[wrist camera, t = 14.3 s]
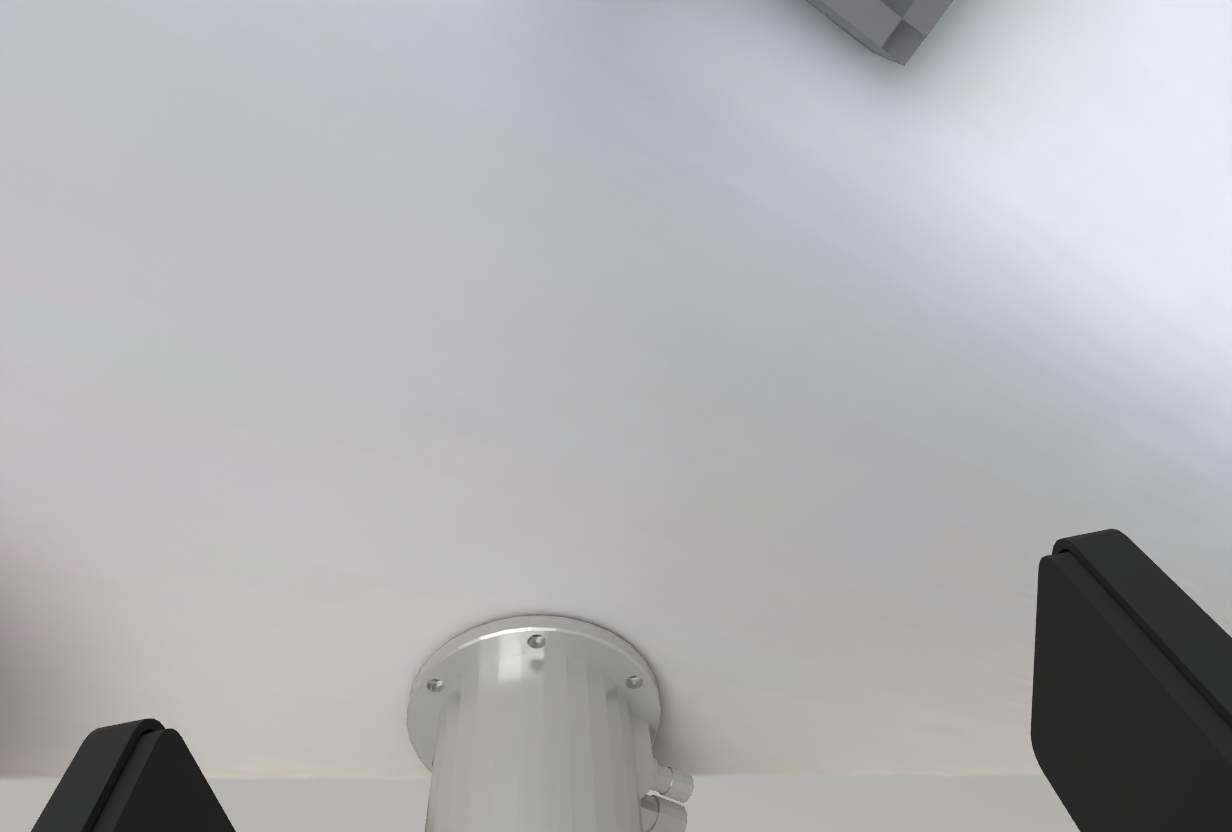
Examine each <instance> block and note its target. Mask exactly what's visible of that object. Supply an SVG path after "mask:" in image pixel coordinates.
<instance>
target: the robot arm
mask: <svg viewBox="0 0 1232 832" xmlns="http://www.w3.org/2000/svg"><path fill="white" fill-rule="evenodd" d="M660 716H661V707H660V700H659V692H658V688H657V684H656V681H655V678H654V674H653V673H652V671H651V669H650V668H649V666H648V665H647V663H646V661H645V660H644V658H643V657H642V656H641V655H640V654H639V653H638V652H637V651H636V650H635V649H634V648H633V647H632V646H631V645H630V644H628V643H627V642H625V641H624V640H622V639H621V638H619V637H618V636H616V635H615V634H614V633H612V632H609V631H607V630H605V629H602V628H600V627H598V626H596V625H593V624H590V623H587V622H583V621H579V620H575V619H571V618H565V617H555V616H545V615H540V616H518V617H513V618H507V619H502V620H497V621H492V622H490V623H487V624H484V625H481V626H478V627H475V628H473V629H470V630H468V631H466V632H464V633H463V634H461V635H459V636H457V637H455V638H453V639H452V640H450V641H448V642H447V643H446V644H445V645H444V646H442V647H441V648H440V649H439V650H437V651H436V652H435V653H434V654H433V655H432V656H431V657H430V658H429V660H428V661H427V662H426V663H425V664H424V666H423V667H422V668H421V669H420V671H419V673H418V675H417V677H416V679H415V681H414V683H413V686H412V689H411V694H410V699H409V704H408V710H407V729H408V733H409V738H410V742H411V744H412V746H413V748H414V750H415V752H416V754H417V755H418V757H419V759H420V760H421V761H422V762H423V764H424V765H425V766H426V767H427V768H428V769H429V770H430V771H431V772H432V777H431V785H430V794H429V801H428V809H427V818H426V826H425V832H685V828H686V824H687V813H686V810H685V807H683V806H681V805H679V804H676V803H674V802H671V801H669V800H666V799H663V798H661V797H658V796H655V795H652V796H649V795H646V793H647V792H648V791H649V790H650V789H652V790H655V791H657V792H659V793H660V794H661V795H664V796H667V797H669V798H672V799H675V800H677V801H680V802H683V803H684V802H685V801H687V800H688V799H689V797H690V796H691V793H692V790H693V779H692V776H690V775H688V774H685V773H683V772H680V771H677V770H675V769H672V768H670V767H667V768H666V767H664V766H661V765H658V764H657V760H656V758H655V757H654V756H653V754H652V745H653V743H654V740H655V738H656V735H657V732H658V730H659V725H660ZM1031 741H1032V746H1033V750H1034V753H1035V756H1036V758H1037V761H1038V763H1039V765H1040V767H1041V769H1042V771H1043V773H1044V774H1045V776H1046V777H1047V779H1048V780H1049V782H1050V783H1051V785H1052V787H1053V789H1054V790H1055V792H1056V793H1057V795H1058V796H1059V798H1060V800H1061V801H1062V803H1063V805H1064V806H1065V808H1066V809H1067V811H1068V813H1069V814H1070V816H1071V817H1072V819H1073V821H1074V822H1075V824H1076V825H1077V827H1078V829H1079V830H1080V832H1232V638H1231V637H1230V636H1229V635H1228V634H1227V633H1226V632H1225V631H1224V630H1223V629H1222V628H1221V627H1220V626H1219V625H1218V624H1217V623H1216V622H1215V621H1214V620H1213V619H1212V618H1211V617H1210V616H1209V615H1208V614H1206V613H1205V612H1204V611H1203V610H1202V609H1201V608H1200V607H1199V606H1198V605H1197V604H1196V603H1195V602H1194V601H1193V600H1192V599H1191V598H1190V597H1189V596H1188V595H1187V594H1186V593H1185V592H1184V591H1183V590H1182V589H1181V588H1180V587H1179V586H1178V585H1177V584H1176V583H1175V582H1173V581H1172V580H1171V579H1170V578H1169V577H1168V576H1167V575H1166V574H1165V573H1164V572H1163V571H1162V570H1161V569H1160V568H1159V567H1158V566H1157V565H1156V564H1155V563H1154V562H1153V561H1152V560H1151V559H1150V558H1149V557H1148V556H1147V555H1146V554H1145V553H1144V552H1143V551H1142V550H1140V549H1139V548H1138V547H1137V546H1136V545H1135V544H1134V543H1133V542H1132V541H1131V540H1130V539H1129V538H1128V537H1127V536H1126V535H1125V534H1123V533H1122V532H1120V531H1119V530H1115V529H1108V530H1103V531H1098V532H1093V533H1088V534H1082V535H1077V536H1072V537H1067V538H1062V539H1060V540H1057V541H1056V543H1055V545H1054V546H1053V552H1052V555H1049V556H1045V557H1042V559H1041V560H1040V563H1039V572H1038V593H1037V613H1036V634H1035V655H1034V676H1033V697H1032V718H1031ZM31 832H236V831H235V830H234V828H233V826H232V824H231V823H230V821H229V819H228V817H227V816H226V814H225V812H224V810H223V809H222V807H221V805H220V803H219V802H218V800H217V798H216V796H215V795H214V793H213V791H212V789H211V788H210V786H209V784H208V782H207V781H206V779H205V777H204V775H203V774H202V772H201V770H200V768H199V767H198V765H197V763H196V761H195V760H194V758H193V756H192V754H191V753H190V751H189V749H188V747H187V746H186V744H185V742H184V740H183V739H182V737H181V736H180V734H179V733H178V732H177V731H176V730H174V729H165V728H164V726H163V725H162V724H161V723H160V722H159V721H157V720H155V719H143V720H138V721H133V722H128V723H123V724H118V725H112V726H107V727H102V728H98V729H96V730H94V731H93V732H91V733H90V734H89V735H88V736H87V738H86V739H85V740H84V741H83V743H82V745H81V747H80V748H79V750H78V752H77V753H76V755H75V757H74V759H73V760H72V762H71V764H70V765H69V767H68V769H67V771H66V772H65V774H64V776H63V778H62V779H61V781H60V783H59V784H58V786H57V788H56V790H55V791H54V793H53V795H52V796H51V798H50V800H49V802H48V803H47V805H46V807H45V808H44V810H43V812H42V814H41V815H40V817H39V819H38V820H37V822H36V824H35V826H34V827H33V829H32V831H31Z"/></svg>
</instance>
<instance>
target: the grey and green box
mask: <svg viewBox="0 0 1232 832" xmlns="http://www.w3.org/2000/svg"><path fill="white" fill-rule="evenodd" d="M807 1H808V2H809V3H811V4H812V5H813V6H814V7H816V8H817V9H818V10H819V11H821V12H822V13H823V14H825V15H826V16H827V17H828V18H830V19H831V20H832V21H834V22H835V23H836V24H837V25H839V26H840V27H841V28H842V29H844V30H845V31H846V32H848V33H849V34H850V35H851V36H853V37H854V38H855V39H857V40H858V41H859V42H860V43H862V44H863V45H864V46H865V47H867V48H868V49H869V50H871V51H872V52H873V53H875V54H878V55H880V56H882V57H885V58H887V59H890V60H892V61H894V62H897V63H899V64H901V65H905V64H906V63H907V61H908V60H909V59H910V57H911V56H912V55H913V53H914V52H915V51H916V49H917V48H918V46H919V45H920V44H921V42H922V41H923V40H924V38H925V37H926V36H927V34H928V33H929V32H930V30H931V29H932V28H933V26H934V25H935V24H936V22H937V21H938V20H939V18H940V17H941V16H942V14H943V13H944V12H945V10H946V9H947V8H948V6H949V5H950V4H951V2H952V1H953V0H807Z"/></svg>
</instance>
